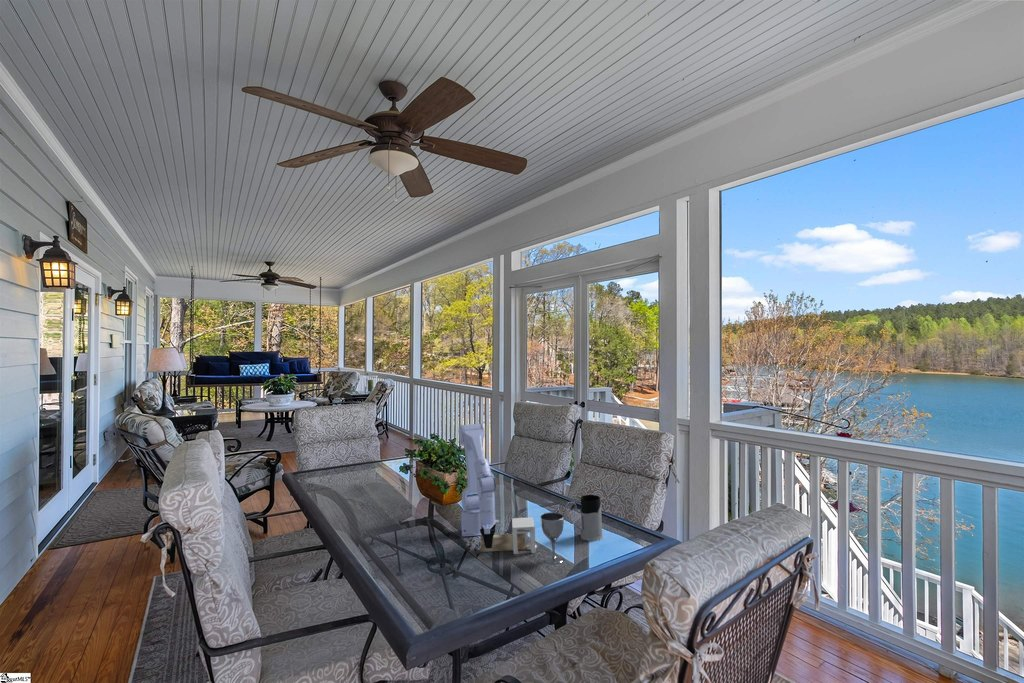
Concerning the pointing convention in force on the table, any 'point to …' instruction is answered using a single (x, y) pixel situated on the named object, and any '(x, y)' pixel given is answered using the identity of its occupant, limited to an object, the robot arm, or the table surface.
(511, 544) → the push stick
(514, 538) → the small white stool
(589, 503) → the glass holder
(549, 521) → the wine glass
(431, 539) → the table surface
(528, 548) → the steel disc
